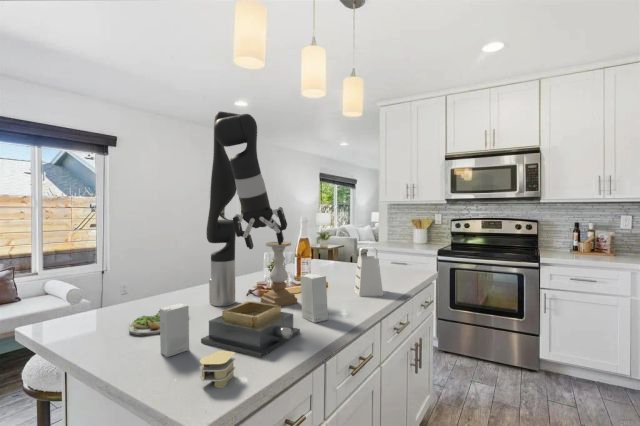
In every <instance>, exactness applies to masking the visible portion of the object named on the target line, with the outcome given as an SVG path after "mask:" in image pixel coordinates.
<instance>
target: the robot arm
mask: <svg viewBox="0 0 640 426" xmlns="http://www.w3.org/2000/svg"><path fill="white" fill-rule="evenodd" d="M213 120H214V121H213V159H212V166H211V167H212V169H211V176H210V177H211V178H210V191H209V193H210V195H209V196H210V197H209V209H208V210H209V211H208V217H207V225H206V232H205V233H206V240H207V241H208V243H210V244H224V243H225V245H224V246H223V247H222V248H221V249H219V250H216V251H213V252H212V253H211V254H210V279H208V282H209V283H208V286H209V287H208V289H209V290H208V291H209V292H208V293H209V294H208V295H209V297H208V299H209V303H208V304H210V305H212V306H213V307H226V306H232V305H234V304H235V303H236V237H238V238H240V237H242V238H244V242H245V246H246V247H247V248H249V250H253V248H254V243H253V238H252V235H251V234H250V232H251V231H252V228H254V229H258V228H266V227H268V228H270V229H272V230H273V231H275V235H276V239H277V242H278V244H279V245H281V244H282V242H284V240H285V239H284V238H285V237H284V232H283V231H285V230H287V227H288V222H287V220H286V219H287V218H286V215H285V212H284V209H283V207H281V206H278V208H276V209H272V207H271V205H270V200H269V196H268V192H267V188H266V183H265V181H264V178H263V175H262V171H261V167H260V164H259V159H258V151H257V150H258V149H257V143H258V141H257V140H258V124H257V121H256V120H255V118H254V117H253V116H252V115H251V114H249V113H242V114H240V113H234V112H228V111H222V110H221V111H217V112H216V114H215V116H214V119H213ZM242 144H243V145H244V144H246V147H245V148H244V150H243V151H241V152H239V153H237V154H234V155H233V156H231V157H230V158H229V156H228V154H227V151H226V148H225V147H229V148H230V147H233V146H234V147H235V146H237V145H238V146H239V145H242ZM236 194H237V197H238V200H239V204H240V208H241V210H242V212H243V213H242V214H238V213H237V214H235V215H234V216H233V217H232V219H219V218H220V216H221V214H222V212H223V210H224V209H225V208H226V207H227V206H228V205H229V203H230V202H231V201H232V200H233V198H234V197H235V196H236ZM273 215H275V216H276V218H278V220H279V223H280V224H279V223H278V222H277V220H275V219H274V218H273ZM243 221H245V223H246V224H247V225H246V228H245V230H243V227H242V222H243Z"/></svg>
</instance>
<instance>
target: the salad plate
mask: <svg viewBox="0 0 640 426" xmlns="http://www.w3.org/2000/svg"><path fill="white" fill-rule="evenodd" d="M138 329H150V331H139V330H138ZM128 330H129V331H128V332H129V333H130V334H133V335H136V336H141V337H142V336H152V335H154V336H155V335H160V310H159V311H158V312H157V313H156V314H154V315H142V316H138V317H137V318H134V319H132V320H131V321H130V322H129V327H128Z"/></svg>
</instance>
